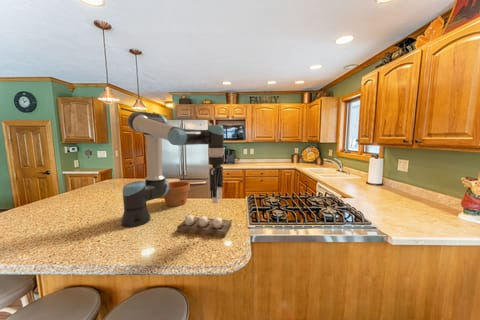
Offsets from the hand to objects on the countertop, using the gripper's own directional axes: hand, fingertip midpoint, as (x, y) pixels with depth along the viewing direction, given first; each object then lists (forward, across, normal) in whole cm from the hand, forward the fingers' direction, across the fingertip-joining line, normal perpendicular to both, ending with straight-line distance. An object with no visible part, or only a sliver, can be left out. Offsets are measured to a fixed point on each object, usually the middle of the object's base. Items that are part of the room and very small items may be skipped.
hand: (217, 201), depth 97 cm
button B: (+14, 0, +8) cm, 16 cm away
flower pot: (+17, +37, +46) cm, 61 cm away
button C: (+14, 0, 0) cm, 14 cm away
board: (+17, +2, +8) cm, 19 cm away
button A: (+14, 0, +16) cm, 21 cm away
